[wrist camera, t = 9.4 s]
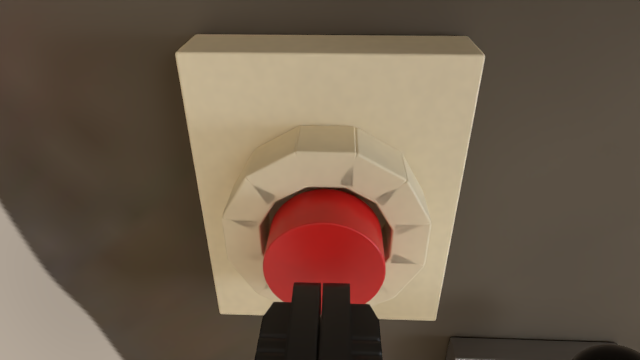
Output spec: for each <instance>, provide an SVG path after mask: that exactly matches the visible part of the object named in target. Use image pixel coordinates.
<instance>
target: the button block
mask: <svg viewBox="0 0 640 360" xmlns="http://www.w3.org/2000/svg"><path fill="white" fill-rule="evenodd" d="M175 57H176V63H177V68H178V74H179V80H180V86H181V91H182V97H183V103H184V109H185V115H186V120H187V126H188V132H189V138H190V144H191V149H192V155H193V161H194V167H195V172H196V178H197V184H198V190H199V196H200V201H201V207H202V213H203V219H204V225H205V230H206V236H207V242H208V248H209V253H210V259H211V265H212V271H213V277H214V282H215V288H216V294H217V300H218V306H219V311H220V314H238V315H265V313H266V312H267V310H268V309H269V308H270V306H271V305H272V303H273V302H283V301H282V300H280V299H279V298H278V297H277V296H276V295H275V294H274V293H273V292H272V291H271V289H270V288H269V286H268V284H267V283H266V280H265V277H264V274H263V259H264V254H265V250H266V245H267V241H268V236H269V232H270V227H271V223H272V220H273V218H274V216H275V214H276V212H277V211H278V209H279V208H280V207H281V206H282V205H283V204H284V203H285V202H287V201H288V200H289V199H291V198H292V197H294V196H296V195H298V194H301V193H303V192H307V191H311V190H317V189H331V190H338V191H342V192H346V193H349V194H351V195H353V196H355V197H357V198H359V199H361V200H362V201H363V202H365V203H366V204H367V205H368V206H369V207H370V208H371V209H372V210H373V212H374V213H375V214H376V216H377V218H378V220H379V222H380V225H381V231H382V239H383V248H384V257H385V265H386V274H385V279H384V282H383V284H382V286H381V288H380V290H379V291H378V293H377V294H376V295H375V296H374V297H373V298H372V299H371V300H370V301H369V302H367V303H366V304H370V306H371V307H372V309H373V311H374V313H375V314H376V316H377V318H378V319H394V320H425V321H435V320H436V316H437V311H438V306H439V300H440V295H441V290H442V285H443V279H444V274H445V269H446V263H447V258H448V253H449V247H450V242H451V237H452V231H453V226H454V221H455V215H456V210H457V205H458V199H459V194H460V189H461V183H462V178H463V173H464V167H465V162H466V157H467V151H468V146H469V141H470V135H471V130H472V125H473V119H474V114H475V109H476V103H477V98H478V93H479V87H480V82H481V77H482V72H483V66H484V61H485V55H484V53H483V52H482V51H481V50H480V49H479V48H478V47H477V46H476V45H475V44H474V43H473V42H472V40H471V39H470V38H469V37H467V36H392V35H241V34H196V35H194V36H193V37H192V38H191V39H190V40H189V41H188V42H187V43H185V44H184V45H183V46H182V47H181V48H180V49H179V50H178V51H176V53H175Z"/></svg>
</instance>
